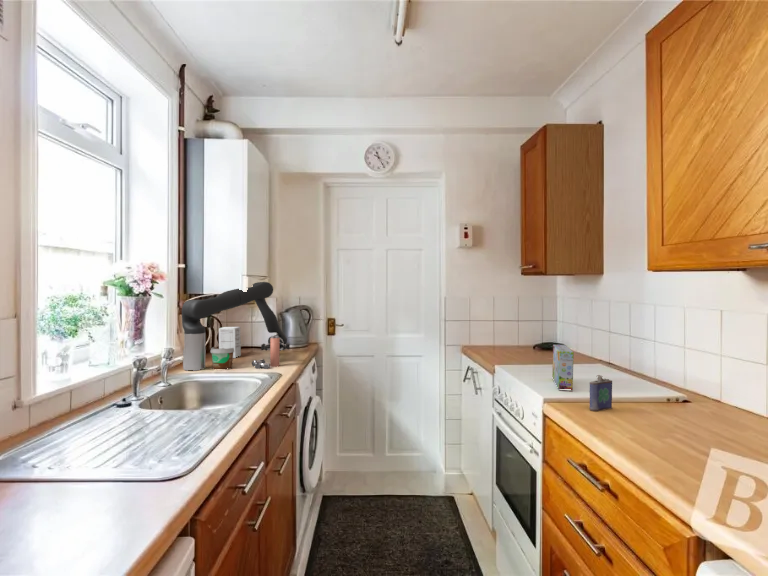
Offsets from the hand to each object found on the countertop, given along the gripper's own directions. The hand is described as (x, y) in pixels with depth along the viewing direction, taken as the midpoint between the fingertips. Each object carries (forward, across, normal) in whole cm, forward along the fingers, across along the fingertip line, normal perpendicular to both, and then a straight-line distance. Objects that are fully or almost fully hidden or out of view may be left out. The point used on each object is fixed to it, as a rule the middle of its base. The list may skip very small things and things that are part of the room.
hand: (275, 348), depth 208 cm
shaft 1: (-1, -8, +8) cm, 12 cm away
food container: (+5, -26, +9) cm, 28 cm away
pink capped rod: (+3, 0, +8) cm, 9 cm away
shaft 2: (+8, -6, +8) cm, 13 cm away
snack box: (+70, +114, +9) cm, 134 cm away
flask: (+102, +105, +9) cm, 147 cm away
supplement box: (-31, -26, +9) cm, 41 cm away
